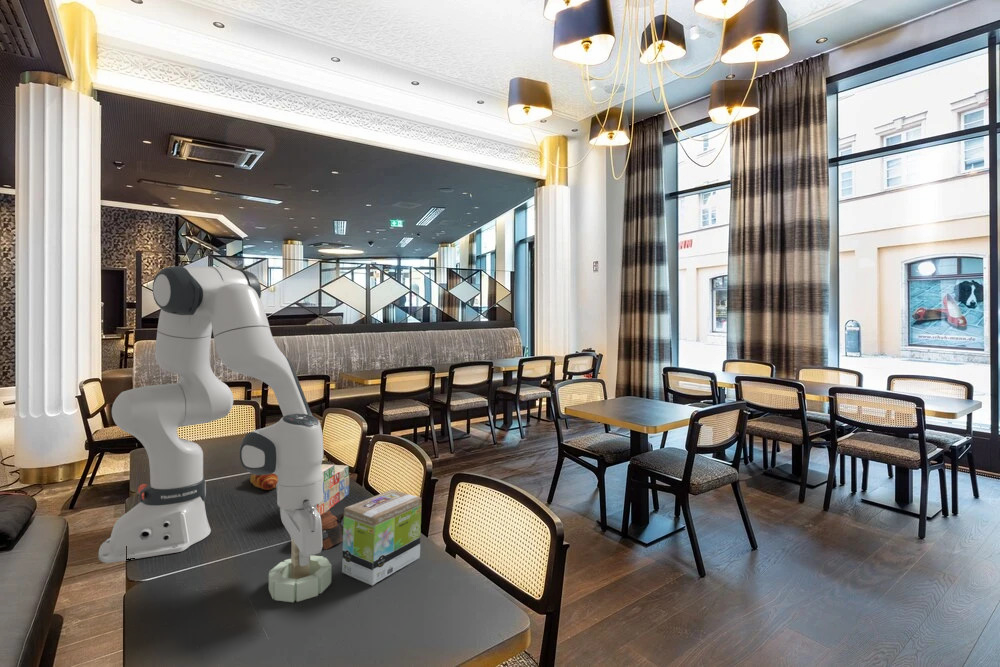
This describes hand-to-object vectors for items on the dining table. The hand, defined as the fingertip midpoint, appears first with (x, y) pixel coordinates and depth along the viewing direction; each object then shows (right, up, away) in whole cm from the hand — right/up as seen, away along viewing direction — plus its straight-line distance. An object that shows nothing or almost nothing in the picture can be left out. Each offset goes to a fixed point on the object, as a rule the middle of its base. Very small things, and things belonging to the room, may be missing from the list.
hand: (300, 559), depth 101 cm
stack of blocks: (-11, -5, +43) cm, 44 cm away
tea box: (+15, -6, +9) cm, 18 cm away
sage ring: (0, -6, 0) cm, 6 cm away
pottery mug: (-2, -5, +21) cm, 22 cm away
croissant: (-36, -4, +62) cm, 72 cm away
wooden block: (0, -6, 0) cm, 6 cm away
